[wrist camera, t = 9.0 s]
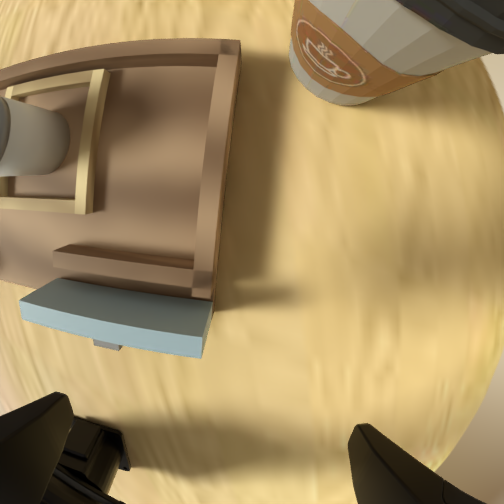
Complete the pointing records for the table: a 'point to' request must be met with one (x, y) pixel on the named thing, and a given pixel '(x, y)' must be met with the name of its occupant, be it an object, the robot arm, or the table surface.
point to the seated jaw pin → (31, 139)
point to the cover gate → (121, 317)
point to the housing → (126, 167)
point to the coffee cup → (387, 43)
